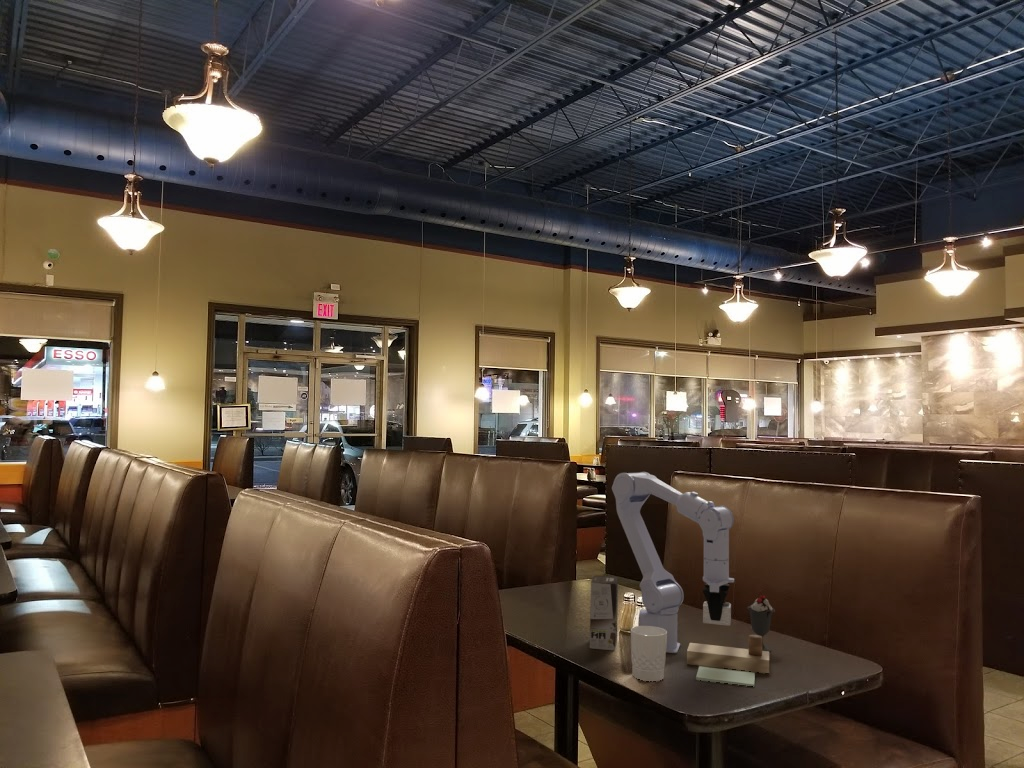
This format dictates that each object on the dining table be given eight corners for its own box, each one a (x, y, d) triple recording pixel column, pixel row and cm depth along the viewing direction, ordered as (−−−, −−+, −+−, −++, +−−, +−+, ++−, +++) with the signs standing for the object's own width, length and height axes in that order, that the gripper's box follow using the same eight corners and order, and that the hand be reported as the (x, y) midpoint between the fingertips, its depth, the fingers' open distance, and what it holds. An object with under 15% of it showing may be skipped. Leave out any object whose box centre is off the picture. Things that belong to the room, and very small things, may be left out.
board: (696, 679, 164) (696, 677, 164) (699, 668, 172) (699, 666, 172) (754, 687, 161) (754, 684, 161) (754, 675, 168) (754, 672, 168)
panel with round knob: (686, 663, 175) (687, 633, 176) (689, 655, 182) (690, 625, 182) (769, 673, 169) (769, 642, 170) (769, 664, 176) (769, 634, 176)
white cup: (641, 668, 171) (641, 623, 172) (673, 676, 166) (673, 630, 167) (623, 677, 165) (623, 630, 166) (655, 685, 160) (656, 637, 161)
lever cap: (703, 622, 176) (703, 602, 176) (704, 618, 180) (704, 598, 180) (729, 625, 174) (730, 605, 174) (730, 621, 178) (730, 601, 178)
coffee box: (615, 651, 184) (616, 583, 185) (588, 649, 185) (590, 582, 186) (617, 640, 193) (618, 576, 194) (592, 638, 194) (593, 574, 195)
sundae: (756, 654, 184) (757, 592, 184) (741, 646, 190) (741, 586, 191) (780, 653, 185) (780, 591, 186) (764, 645, 192) (764, 585, 192)
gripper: (732, 565, 169) (732, 626, 169) (735, 555, 183) (735, 612, 182) (700, 562, 172) (700, 623, 171) (705, 553, 185) (705, 609, 185)
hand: (716, 617), depth 177 cm, fingers closed on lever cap, 4 cm apart
